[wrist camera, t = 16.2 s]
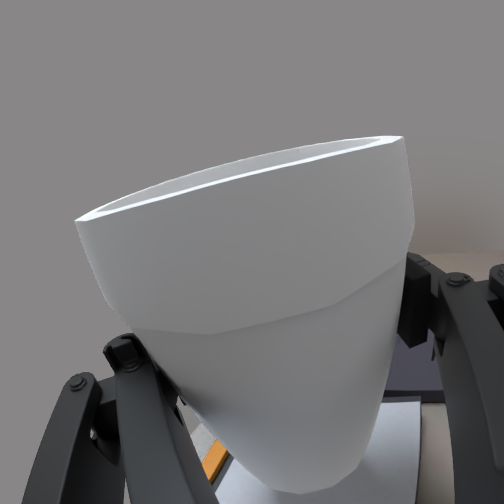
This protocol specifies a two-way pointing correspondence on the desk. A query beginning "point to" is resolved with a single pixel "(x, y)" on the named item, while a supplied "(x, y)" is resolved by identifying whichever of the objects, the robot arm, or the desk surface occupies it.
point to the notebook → (414, 372)
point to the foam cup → (269, 297)
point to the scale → (352, 486)
